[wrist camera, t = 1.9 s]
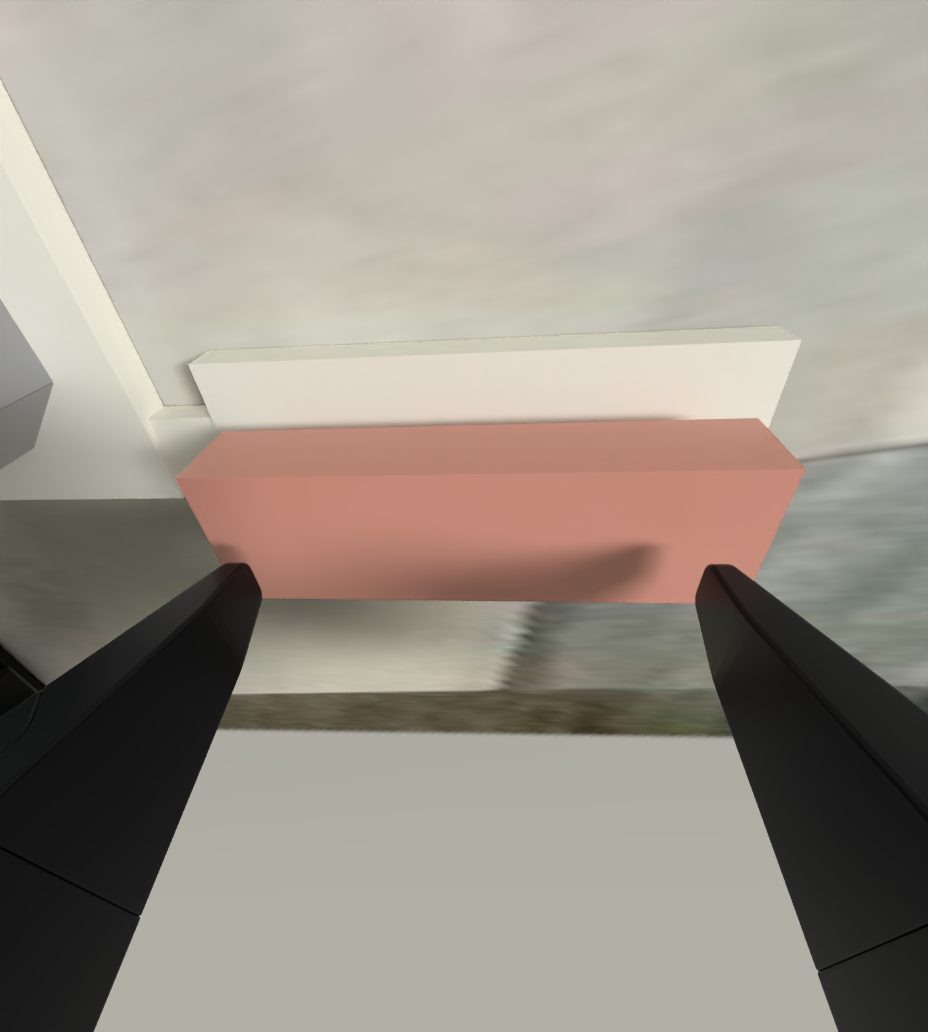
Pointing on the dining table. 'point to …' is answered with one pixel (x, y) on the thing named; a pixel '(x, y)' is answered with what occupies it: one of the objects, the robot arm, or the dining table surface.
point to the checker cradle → (299, 370)
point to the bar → (494, 508)
